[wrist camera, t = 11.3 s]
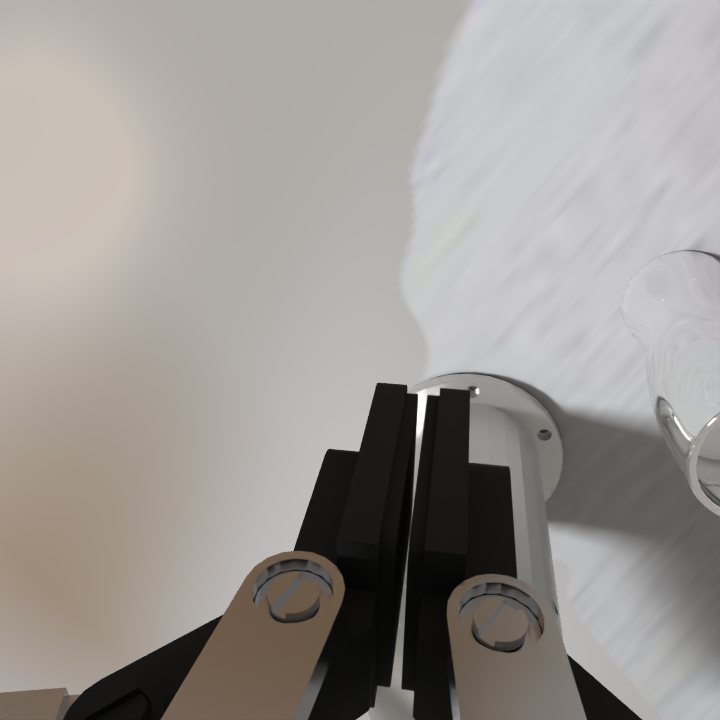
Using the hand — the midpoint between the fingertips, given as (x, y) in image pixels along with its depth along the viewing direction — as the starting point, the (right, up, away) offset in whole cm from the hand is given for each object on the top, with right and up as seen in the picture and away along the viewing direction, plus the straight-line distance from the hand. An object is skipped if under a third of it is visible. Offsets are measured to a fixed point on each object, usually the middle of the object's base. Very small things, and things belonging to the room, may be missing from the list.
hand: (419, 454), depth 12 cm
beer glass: (+17, +5, +26) cm, 31 cm away
